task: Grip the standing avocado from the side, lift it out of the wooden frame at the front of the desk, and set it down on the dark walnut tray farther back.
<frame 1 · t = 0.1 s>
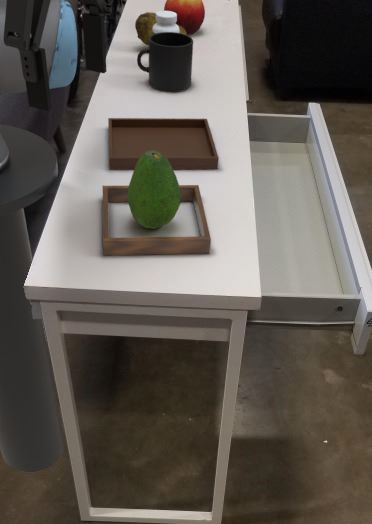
hand: (70, 88, 73), 21 cm above the table, tool pointing down, fingers open, 13 cm apart
mug: (164, 84, 129), on the table
tray: (160, 148, 108), on the table
avocado: (154, 226, 90), resting in wooden frame
potato: (161, 50, 144), on the table
fruit: (183, 32, 154), on the table
wooden frame: (154, 225, 90), on the table
pill bottle: (165, 68, 136), on the table
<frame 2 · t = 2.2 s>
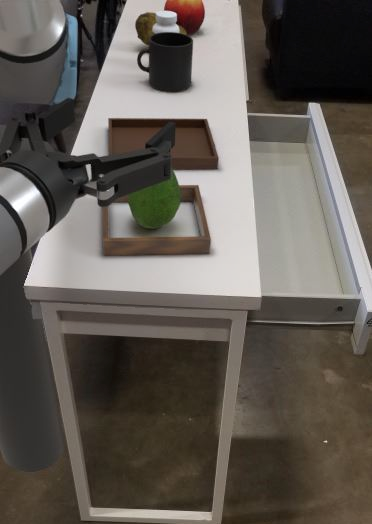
hand: (121, 121, 69), 20 cm above the table, tool horizontal, fingers open, 13 cm apart
nothing on the table moved.
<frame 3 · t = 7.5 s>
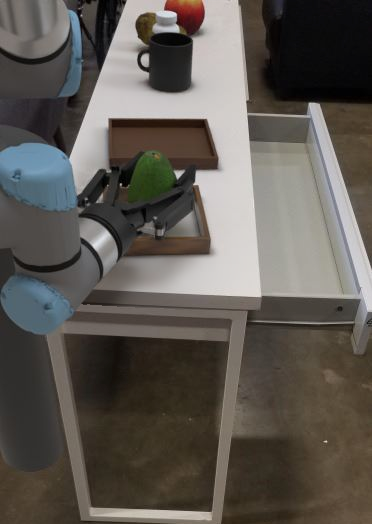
hand: (167, 166, 88), 8 cm above the table, tool horizontal, fingers closed on avocado, 8 cm apart
avocado: (154, 226, 90), resting in wooden frame, touching gripper
everything else where it was.
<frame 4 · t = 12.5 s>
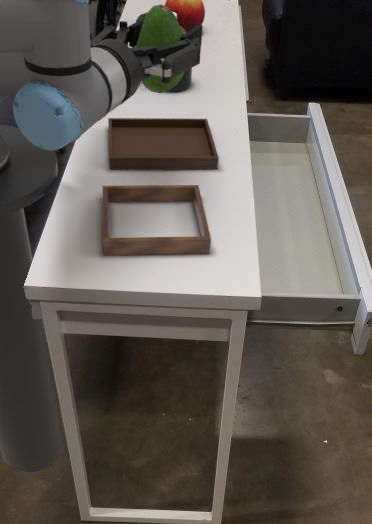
hand: (174, 30, 90), 21 cm above the table, tool horizontal, fingers closed on avocado, 8 cm apart
avocado: (160, 92, 92), point 13 cm above the table, touching gripper
everything else where it was.
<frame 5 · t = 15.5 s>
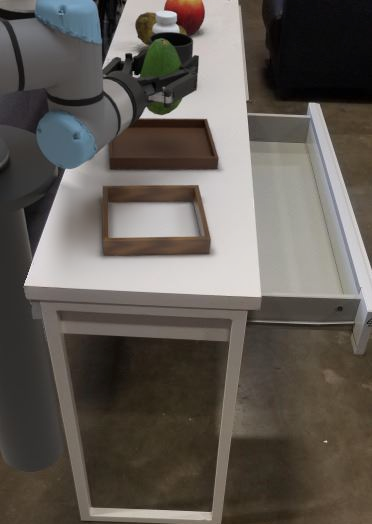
hand: (174, 59, 101), 14 cm above the table, tool horizontal, fingers closed on avocado, 8 cm apart
avocado: (162, 114, 103), point 6 cm above the table, touching gripper
everything else where it was.
when the fingers open (8 cm above the table, at t = 17.8 s): avocado stays where it is, resting on tray.
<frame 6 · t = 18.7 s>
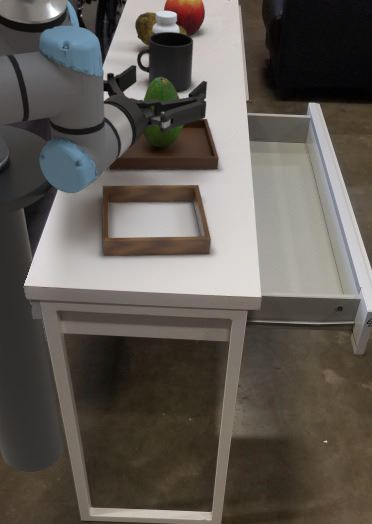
hand: (169, 81, 102), 11 cm above the table, tool horizontal, fingers open, 13 cm apart
avocado: (161, 146, 107), resting on tray
everything else where it was.
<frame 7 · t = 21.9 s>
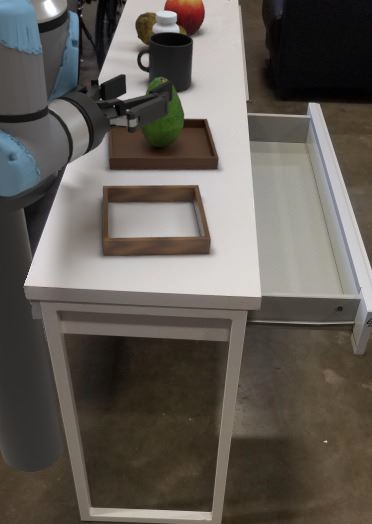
hand: (146, 86, 91), 14 cm above the table, tool horizontal, fingers open, 7 cm apart
nothing on the table moved.
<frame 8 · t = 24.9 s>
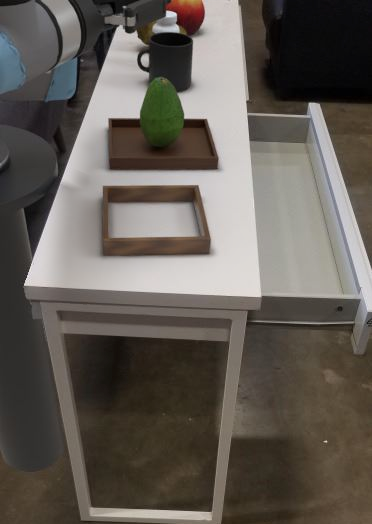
nothing on the table moved.
at the end: avocado inside the target area in the tray (0.2 cm from its centre), point 0.4 cm above the tray's base; the gripper is holding nothing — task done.
